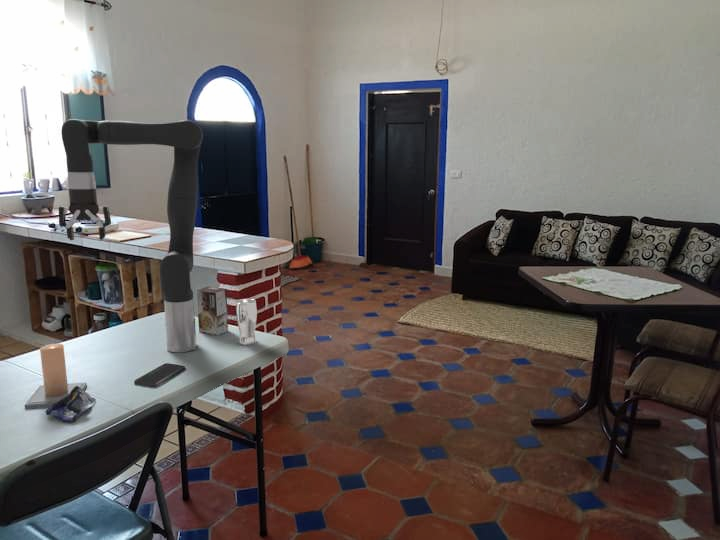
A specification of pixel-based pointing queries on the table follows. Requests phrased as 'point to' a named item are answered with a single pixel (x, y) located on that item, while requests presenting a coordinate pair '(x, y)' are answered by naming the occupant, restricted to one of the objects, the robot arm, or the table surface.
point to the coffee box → (212, 310)
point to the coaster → (43, 401)
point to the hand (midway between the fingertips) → (87, 239)
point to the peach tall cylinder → (54, 370)
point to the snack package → (71, 405)
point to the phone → (159, 375)
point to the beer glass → (246, 320)
